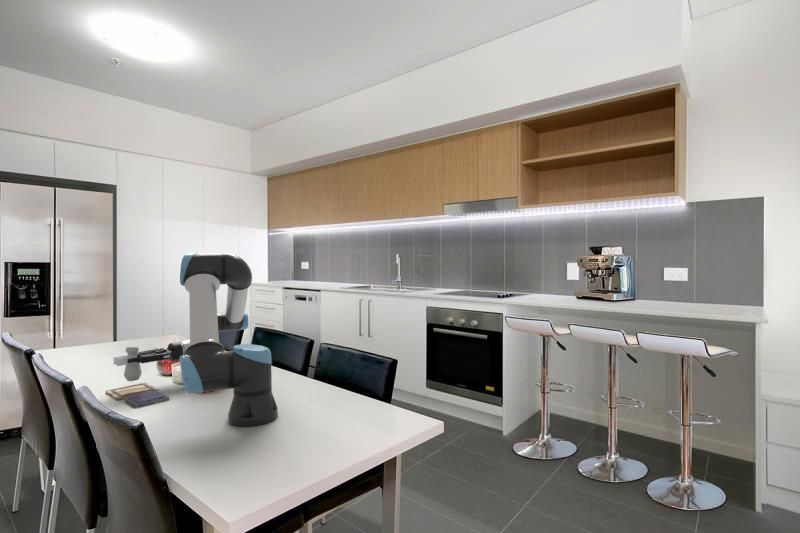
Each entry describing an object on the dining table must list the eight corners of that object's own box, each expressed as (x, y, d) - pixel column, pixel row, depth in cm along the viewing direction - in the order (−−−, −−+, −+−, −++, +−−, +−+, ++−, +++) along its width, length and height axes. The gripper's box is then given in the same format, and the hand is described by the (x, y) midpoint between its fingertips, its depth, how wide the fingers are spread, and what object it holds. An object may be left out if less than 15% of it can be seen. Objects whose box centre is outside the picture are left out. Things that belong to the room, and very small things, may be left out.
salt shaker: (135, 382, 167) (134, 347, 166) (120, 381, 167) (119, 347, 167) (144, 377, 173) (144, 344, 172) (130, 377, 173) (129, 344, 173)
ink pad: (169, 399, 160) (169, 395, 160) (135, 407, 152) (135, 403, 152) (157, 393, 168) (157, 389, 168) (124, 401, 159) (124, 396, 159)
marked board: (159, 391, 170) (159, 388, 170) (117, 400, 160) (117, 397, 160) (145, 384, 180) (145, 381, 180) (105, 392, 169) (105, 390, 169)
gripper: (188, 363, 178) (122, 375, 160) (172, 356, 189) (108, 367, 171) (188, 344, 178) (122, 355, 160) (172, 339, 188) (108, 348, 171)
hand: (115, 361), depth 166 cm, fingers closed on salt shaker, 3 cm apart
